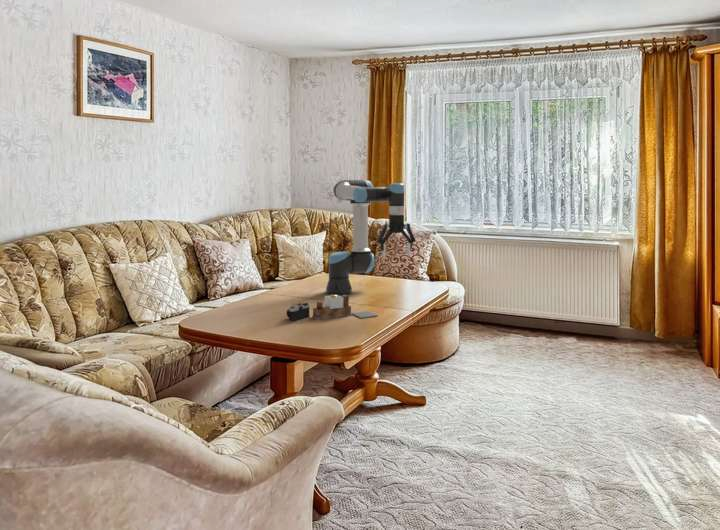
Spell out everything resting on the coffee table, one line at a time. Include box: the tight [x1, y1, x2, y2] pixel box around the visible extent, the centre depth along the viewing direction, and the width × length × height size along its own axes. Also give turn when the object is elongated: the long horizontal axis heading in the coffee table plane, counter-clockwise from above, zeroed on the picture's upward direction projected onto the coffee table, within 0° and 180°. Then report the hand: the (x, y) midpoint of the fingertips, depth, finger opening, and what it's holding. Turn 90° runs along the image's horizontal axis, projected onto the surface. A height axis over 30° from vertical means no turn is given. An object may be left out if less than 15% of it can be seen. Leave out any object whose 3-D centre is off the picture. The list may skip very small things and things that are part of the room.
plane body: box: [311, 294, 353, 320], centre depth 278 cm, size 19×5×10 cm, turn 117°
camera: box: [286, 302, 310, 323], centre depth 273 cm, size 13×8×9 cm, turn 146°
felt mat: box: [351, 310, 378, 320], centre depth 280 cm, size 10×9×1 cm
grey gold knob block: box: [324, 294, 343, 309], centre depth 278 cm, size 6×7×6 cm
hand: (396, 256), depth 292 cm, fingers open, 13 cm apart
